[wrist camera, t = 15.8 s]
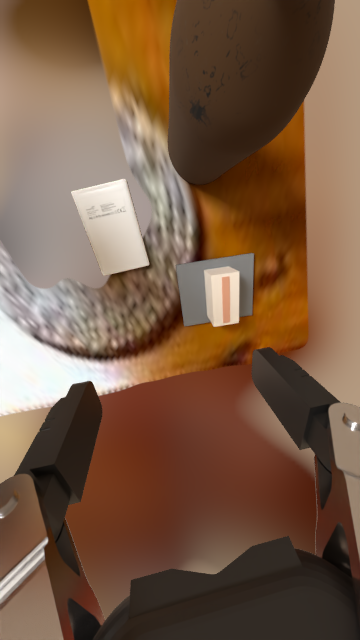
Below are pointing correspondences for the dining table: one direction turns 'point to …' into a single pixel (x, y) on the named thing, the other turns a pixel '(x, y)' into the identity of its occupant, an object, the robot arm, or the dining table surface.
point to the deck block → (222, 295)
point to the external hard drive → (112, 226)
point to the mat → (194, 286)
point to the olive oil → (239, 77)
